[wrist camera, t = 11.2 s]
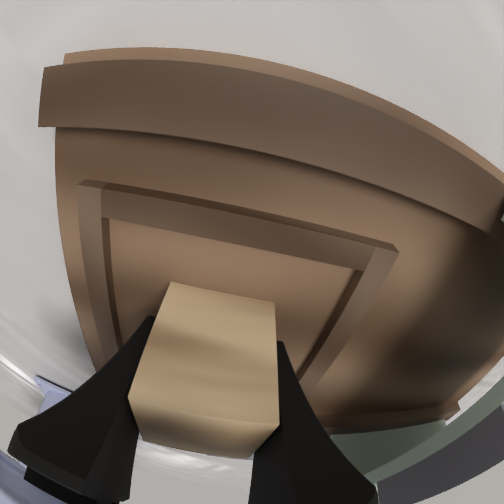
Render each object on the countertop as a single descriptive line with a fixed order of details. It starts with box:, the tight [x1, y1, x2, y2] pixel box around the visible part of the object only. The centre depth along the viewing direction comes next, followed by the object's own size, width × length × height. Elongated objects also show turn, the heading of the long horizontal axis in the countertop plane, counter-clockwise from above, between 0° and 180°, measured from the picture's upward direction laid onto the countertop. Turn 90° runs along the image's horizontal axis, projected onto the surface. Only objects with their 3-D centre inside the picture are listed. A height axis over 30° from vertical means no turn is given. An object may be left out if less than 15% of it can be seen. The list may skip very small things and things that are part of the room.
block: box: [128, 282, 279, 459], centre depth 9 cm, size 4×4×5 cm
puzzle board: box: [38, 47, 504, 436], centre depth 12 cm, size 20×30×2 cm, turn 77°
